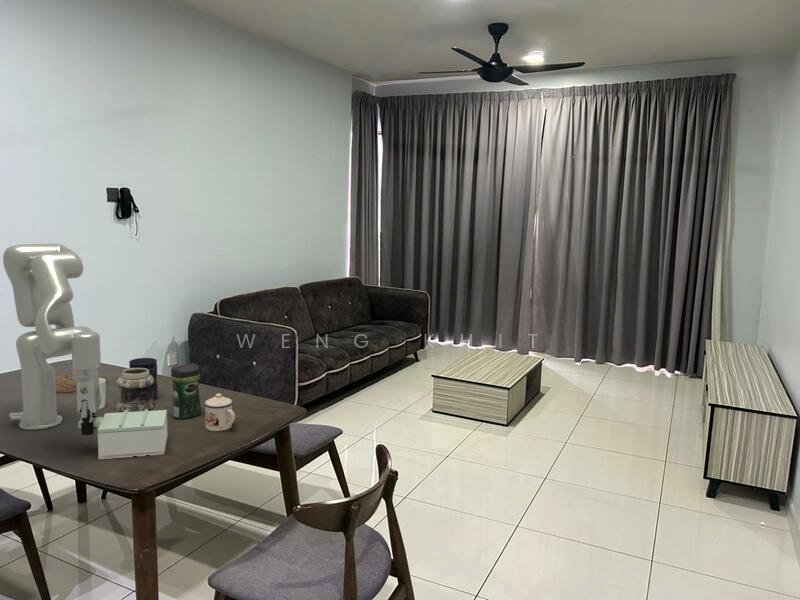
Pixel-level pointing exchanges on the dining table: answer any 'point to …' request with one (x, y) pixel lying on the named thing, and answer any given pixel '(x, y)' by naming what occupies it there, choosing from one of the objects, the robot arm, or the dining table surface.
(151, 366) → the storage jar
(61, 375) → the trivet
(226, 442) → the dining table surface
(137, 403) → the apothecary jar
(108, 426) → the lid
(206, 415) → the teacup with lid
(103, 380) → the white cup
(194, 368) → the coffee jar
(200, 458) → the dining table surface
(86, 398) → the robot arm
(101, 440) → the tub
